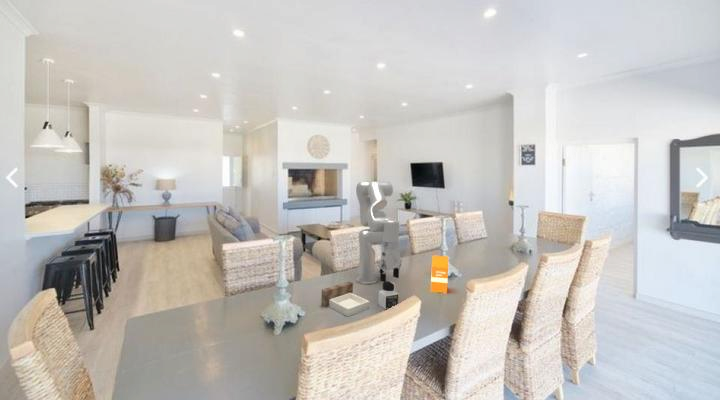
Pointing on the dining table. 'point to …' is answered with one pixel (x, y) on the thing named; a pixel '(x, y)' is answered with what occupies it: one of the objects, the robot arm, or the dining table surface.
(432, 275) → the orange juice
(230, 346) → the dining table surface
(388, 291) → the medicine bottle
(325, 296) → the backstop wall
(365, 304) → the white square tray
